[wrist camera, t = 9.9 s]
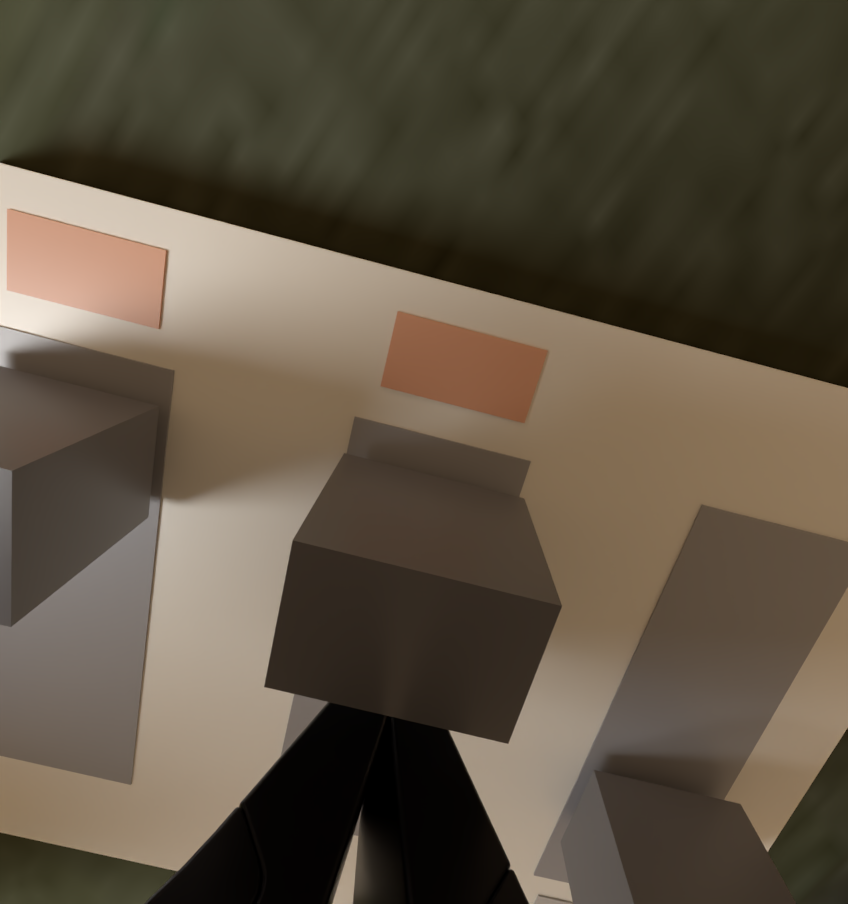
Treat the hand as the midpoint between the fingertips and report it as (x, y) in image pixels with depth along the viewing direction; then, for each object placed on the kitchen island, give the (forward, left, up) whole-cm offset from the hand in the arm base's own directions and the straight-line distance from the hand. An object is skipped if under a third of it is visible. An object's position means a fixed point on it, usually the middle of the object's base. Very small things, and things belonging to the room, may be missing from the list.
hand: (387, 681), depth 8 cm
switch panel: (0, -1, -4) cm, 4 cm away
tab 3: (+6, -3, -1) cm, 7 cm away
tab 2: (0, +2, -1) cm, 3 cm away
